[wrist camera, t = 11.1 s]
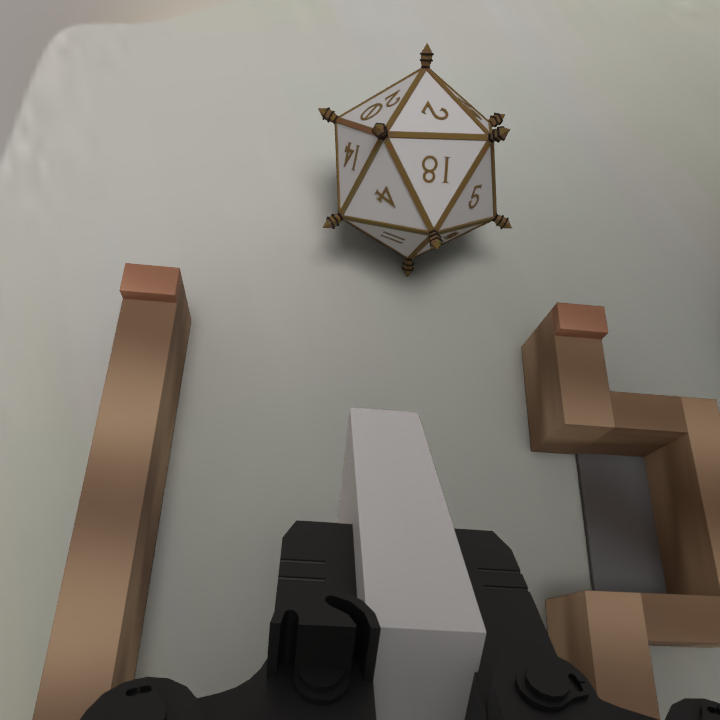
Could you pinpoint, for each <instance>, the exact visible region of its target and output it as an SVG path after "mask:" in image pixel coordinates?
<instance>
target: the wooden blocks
mask: <svg viewBox="0 0 720 720" xmlns="http://www.w3.org/2000/svg"><path fill="white" fill-rule="evenodd" d="M120 292H121V295H122V297H123V301H122V305H121V310H120V315H119V319H118V324H117V329H116V333H115V338H114V343H113V347H112V352H111V357H110V361H109V366H108V371H107V375H106V380H105V385H104V389H103V394H102V398H101V403H100V408H99V412H98V417H97V422H96V426H95V431H94V436H93V440H92V445H91V450H90V454H89V459H88V464H87V468H86V473H85V478H84V482H83V487H82V492H81V496H80V501H79V506H78V510H77V515H76V520H75V524H74V529H73V533H72V538H71V543H70V547H69V552H68V557H67V561H66V566H65V571H64V575H63V580H62V585H61V589H60V594H59V599H58V603H57V608H56V613H55V617H54V622H53V627H52V631H51V636H50V641H49V645H48V650H47V655H46V659H45V664H44V669H43V673H42V678H41V682H40V687H39V692H38V696H37V701H36V706H35V710H34V715H33V720H80V719H81V717H82V716H83V714H84V713H85V712H86V710H87V709H88V708H89V707H90V706H91V705H92V704H93V703H94V702H95V701H96V700H97V699H98V698H99V697H100V696H101V695H102V694H103V693H105V692H107V691H109V690H111V689H112V688H114V687H116V686H118V685H120V684H122V683H123V682H127V681H131V680H134V677H135V671H136V664H137V658H138V652H139V645H140V639H141V633H142V627H143V620H144V614H145V608H146V601H147V595H148V589H149V583H150V576H151V570H152V564H153V557H154V551H155V545H156V538H157V532H158V526H159V520H160V513H161V507H162V501H163V494H164V488H165V482H166V475H167V469H168V463H169V457H170V450H171V444H172V438H173V431H174V425H175V419H176V412H177V406H178V400H179V394H180V387H181V381H182V375H183V368H184V362H185V356H186V349H187V343H188V337H189V331H190V324H191V317H190V312H189V308H188V303H187V299H186V294H185V290H184V285H183V281H182V276H181V272H180V268H174V267H163V266H152V265H141V264H130V263H126V264H125V268H124V273H123V277H122V282H121V286H120ZM607 333H608V327H607V321H606V315H605V309H604V307H602V306H591V305H580V304H569V303H558V302H557V303H556V305H555V306H554V307H553V308H552V310H551V311H550V312H549V313H548V315H547V316H546V317H545V318H544V320H543V321H542V322H541V323H540V325H539V326H538V327H537V328H536V330H535V331H534V332H533V333H532V335H531V336H530V337H529V338H528V340H527V341H526V342H525V344H524V345H523V346H522V358H523V368H524V379H525V390H526V401H527V411H528V422H529V433H530V443H531V451H534V452H550V453H565V454H576V460H577V468H578V476H579V484H580V492H581V500H582V508H583V516H584V524H585V532H586V540H587V548H588V556H589V564H590V572H591V580H592V588H593V591H581V592H577V593H572V594H568V595H564V596H560V597H555V598H551V599H547V600H545V604H546V615H547V625H548V635H549V638H550V640H551V642H552V645H553V647H554V649H555V651H556V654H557V656H558V657H560V658H562V659H564V660H566V661H568V662H569V663H571V664H572V665H573V666H574V667H575V668H577V669H578V670H579V671H580V672H582V673H583V674H584V675H585V677H586V678H587V679H588V681H589V682H590V684H591V685H592V687H593V688H594V689H595V691H596V693H597V695H598V697H599V698H600V699H602V700H603V701H606V702H608V703H611V704H613V705H616V706H618V707H621V708H624V709H627V710H630V711H634V712H637V713H640V714H643V715H646V716H649V717H653V718H656V719H659V720H660V716H659V709H658V703H657V696H656V690H655V683H654V677H653V670H652V664H651V657H650V651H649V645H653V646H683V647H720V414H719V410H718V405H717V401H716V399H704V398H691V397H678V396H665V395H652V394H639V393H626V392H612V391H609V386H608V379H607V373H606V366H605V360H604V353H603V347H602V340H601V339H602V338H603V337H604V336H605V335H606V334H607Z"/></svg>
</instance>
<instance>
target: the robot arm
mask: <svg viewBox="0 0 720 720" xmlns="http://www.w3.org/2000/svg"><path fill="white" fill-rule="evenodd" d="M338 520H339V523H328V522H312V521H296V522H295V523H294V524H293V525H292V527H291V528H290V529H289V530H288V532H287V533H286V534H285V535H284V537H283V540H282V549H281V558H280V567H279V576H278V585H277V594H276V603H275V612H274V615H273V617H272V620H271V622H270V632H269V646H268V658H267V660H266V661H265V663H264V664H263V666H262V668H261V669H260V670H259V671H258V672H257V673H256V674H255V675H254V676H253V677H252V678H251V679H249V680H248V681H246V682H244V683H243V684H241V685H239V686H238V687H236V688H233V689H230V690H227V691H224V692H221V693H218V694H214V695H210V696H206V697H201V698H196V697H195V696H194V695H193V694H192V692H191V691H190V690H189V689H188V688H187V687H186V686H184V685H182V684H180V683H177V682H175V681H173V680H171V679H168V678H155V677H144V678H140V679H136V680H131V681H127V682H123V683H122V684H120V685H118V686H116V687H114V688H112V689H111V690H109V691H107V692H105V693H103V694H102V695H101V696H100V697H99V698H98V699H97V700H96V701H95V702H94V703H93V704H92V705H91V706H90V707H89V708H88V709H87V710H86V712H85V713H84V714H83V716H82V717H81V719H80V720H659V719H656V718H653V717H649V716H646V715H643V714H640V713H637V712H634V711H630V710H627V709H624V708H621V707H618V706H616V705H613V704H611V703H608V702H606V701H603V700H602V699H600V698H599V697H598V695H597V693H596V691H595V689H594V688H593V687H592V685H591V684H590V682H589V681H588V679H587V678H586V677H585V675H584V674H583V673H582V672H580V671H579V670H578V669H577V668H575V667H574V666H573V665H572V664H571V663H569V662H568V661H566V660H564V659H562V658H560V657H558V656H557V654H556V651H555V649H554V647H553V645H552V642H551V640H550V638H549V635H548V633H547V631H546V628H545V626H544V624H543V621H542V619H541V617H540V615H539V612H538V610H537V608H536V605H535V603H534V601H533V598H532V596H531V594H530V592H528V587H527V585H526V582H525V580H524V578H523V575H522V574H520V568H519V566H518V564H517V561H516V559H515V557H514V554H513V552H512V550H511V549H510V548H509V547H508V546H507V545H506V544H505V543H504V542H503V541H502V540H501V539H500V538H499V537H498V536H497V535H496V534H495V533H494V532H493V531H483V530H468V529H454V527H453V524H452V521H451V518H450V514H449V511H448V508H447V505H446V502H445V498H444V495H443V492H442V489H441V486H440V482H439V479H438V476H437V473H436V470H435V466H434V463H433V460H432V457H431V454H430V450H429V447H428V444H427V441H426V438H425V434H424V431H423V428H422V425H421V422H420V418H419V415H418V413H417V412H404V411H391V410H379V409H366V408H353V407H350V413H349V422H348V431H347V440H346V449H345V458H344V467H343V476H342V485H341V494H340V504H339V513H338ZM665 720H720V703H717V702H713V701H710V700H707V699H689V698H685V699H683V700H681V701H679V702H677V703H675V704H673V705H672V706H671V708H670V710H669V712H668V714H667V716H666V719H665Z"/></svg>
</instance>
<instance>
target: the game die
mask: <svg viewBox="0 0 720 720" xmlns="http://www.w3.org/2000/svg"><path fill="white" fill-rule="evenodd" d="M420 54H421V59H420V61H421V64H422V67H421V68H420V69H419V70H417V71H415V72H413V73H412V74H410V75H408V76H407V77H405V78H403V79H402V80H400V81H398V82H396V83H395V84H393V85H391V86H390V87H388V88H386V89H384V90H383V91H381V92H379V93H378V94H376V95H374V96H373V97H371V98H369V99H367V100H366V101H364V102H362V103H361V104H359V105H357V106H356V107H354V108H352V109H350V110H349V111H347V112H345V113H344V114H342V115H340V116H337V115H336V114H335V113H334V112H335V111H332V110H330V108H318V109H319V111H320V113H321V115H322V117H323V120H324V119H325V120H327V122H328V123H329V122H333V123H334V124H335V143H336V168H337V193H338V214H335V215H333V214H332V216H331V217H327V219H326V222H325V224H324V226H323V228H333V229H334V228H335V226H337V225H338V226H339V223H340V222H341V221H342V220H343V221H345V222H347V223H348V224H350V225H352V226H353V227H355V228H357V229H358V230H360V231H362V232H363V233H365V234H367V235H368V236H370V237H372V238H373V239H375V240H377V241H378V242H380V243H382V244H383V245H385V246H387V247H388V248H390V249H392V250H393V251H395V252H397V253H398V254H400V255H402V256H403V257H405V261H404V263H403V267H402V269H403V270H404V271H405V273H406V275H407V277H408V275H409V274H410V273H411V271H413V269H414V267H413V265H414V263H413V261H412V259H413V258H415V257H417V256H419V255H421V254H424V253H426V252H428V251H430V250H432V249H434V248H435V249H437V250H438V248H439V247H440V245H443V244H445V243H447V242H449V241H451V240H453V239H455V238H457V237H459V236H462V235H464V234H466V233H468V232H470V231H472V230H474V229H476V228H478V227H480V226H483V225H485V224H487V223H489V222H491V221H494V222H495V223H496V226H499V227H501V229H502V228H512V227H511V225H510V223H509V220H508V218H505V217H504V215H502V216H500V215H498V214H497V208H496V182H495V157H494V141H497V142H498V143H499V142H500V140H503V141H504V140H505V138H506V136H507V134H508V132H509V131H510V129H507V128H504V126H501V127H497V129H493V130H492V127H496V126H497V125H498V124H499V125H500V124H501V123H502V122H503V118H504V116H505V114H498V113H494V115H493V116H490V119H489V120H487V119H486V118H485V117H484V116H483V115H482V114H481V113H479V112H478V111H477V110H476V109H475V108H474V107H473V106H472V105H470V104H469V103H468V102H467V101H466V100H465V99H464V98H463V97H461V96H460V95H459V94H458V93H457V92H456V91H455V90H454V89H452V88H451V87H450V86H449V85H448V84H447V83H446V82H445V81H443V80H442V79H441V78H440V77H439V76H438V75H437V74H436V73H434V72H433V71H432V70H431V69H430V64H431V61H433V60H432V55H434V54H433V53H432V52H431V49H430V47H429V45H428V43H427V44H426V46H425V48H424V49H423V51H422V53H420Z"/></svg>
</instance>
